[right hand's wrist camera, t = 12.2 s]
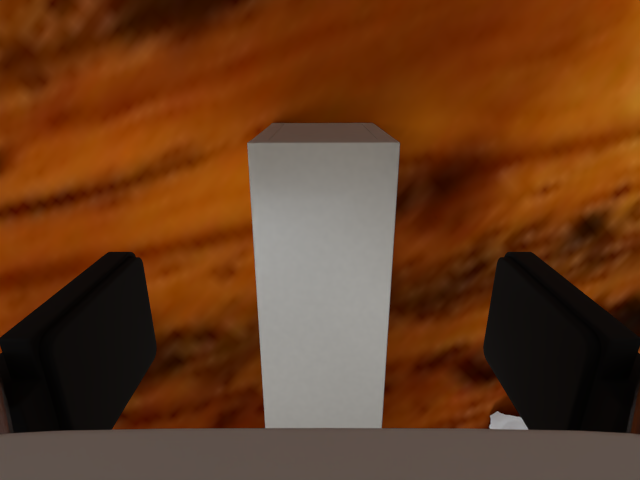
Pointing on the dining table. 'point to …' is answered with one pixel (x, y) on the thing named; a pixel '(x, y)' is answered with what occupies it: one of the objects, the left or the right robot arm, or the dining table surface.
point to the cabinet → (323, 270)
